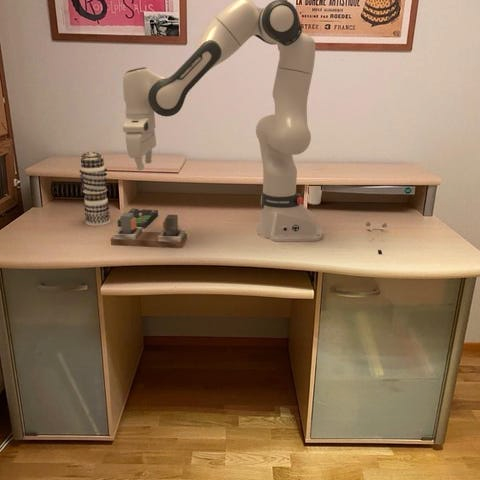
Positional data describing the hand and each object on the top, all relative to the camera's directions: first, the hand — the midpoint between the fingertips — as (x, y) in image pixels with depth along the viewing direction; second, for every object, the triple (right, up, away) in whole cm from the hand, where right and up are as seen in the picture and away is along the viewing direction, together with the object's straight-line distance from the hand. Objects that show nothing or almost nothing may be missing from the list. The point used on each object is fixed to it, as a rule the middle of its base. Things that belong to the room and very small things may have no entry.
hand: (144, 166), depth 154 cm
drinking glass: (+62, -9, +45) cm, 77 cm away
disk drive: (-6, -17, +21) cm, 28 cm away
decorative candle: (-21, -17, +19) cm, 33 cm away
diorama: (+77, -24, +6) cm, 81 cm away
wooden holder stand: (+1, -24, +1) cm, 25 cm away
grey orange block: (-5, -22, +1) cm, 23 cm away
